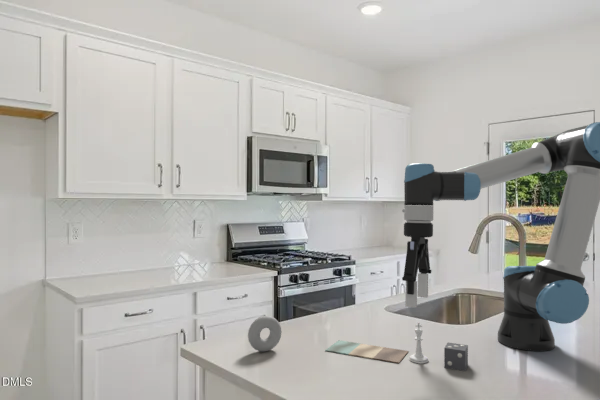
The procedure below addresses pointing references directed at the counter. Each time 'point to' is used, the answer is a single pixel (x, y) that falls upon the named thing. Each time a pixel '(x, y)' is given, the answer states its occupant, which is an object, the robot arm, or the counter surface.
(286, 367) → the counter surface
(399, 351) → the track
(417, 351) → the chess piece
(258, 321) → the donut
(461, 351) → the die
